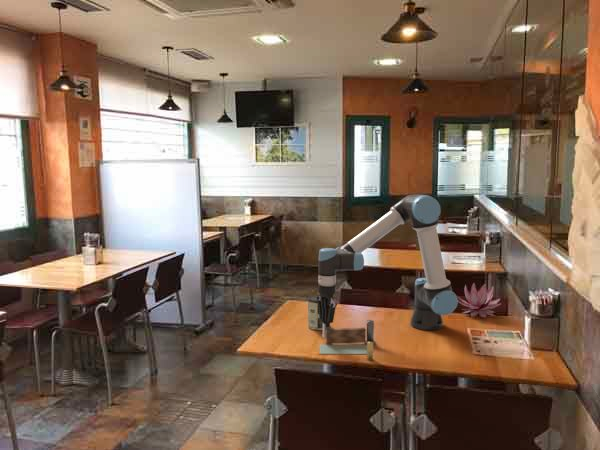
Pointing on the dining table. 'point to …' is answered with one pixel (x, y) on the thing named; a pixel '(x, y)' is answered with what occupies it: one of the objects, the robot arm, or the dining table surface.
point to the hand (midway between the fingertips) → (325, 336)
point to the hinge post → (370, 332)
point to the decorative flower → (479, 301)
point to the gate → (345, 335)
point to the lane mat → (342, 349)
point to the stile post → (369, 350)
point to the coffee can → (314, 314)
